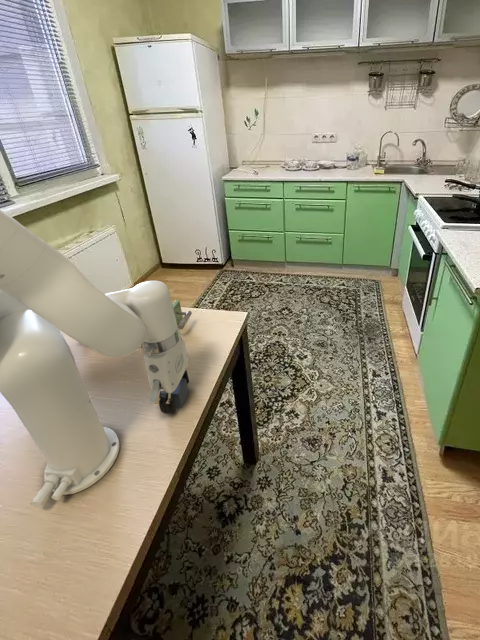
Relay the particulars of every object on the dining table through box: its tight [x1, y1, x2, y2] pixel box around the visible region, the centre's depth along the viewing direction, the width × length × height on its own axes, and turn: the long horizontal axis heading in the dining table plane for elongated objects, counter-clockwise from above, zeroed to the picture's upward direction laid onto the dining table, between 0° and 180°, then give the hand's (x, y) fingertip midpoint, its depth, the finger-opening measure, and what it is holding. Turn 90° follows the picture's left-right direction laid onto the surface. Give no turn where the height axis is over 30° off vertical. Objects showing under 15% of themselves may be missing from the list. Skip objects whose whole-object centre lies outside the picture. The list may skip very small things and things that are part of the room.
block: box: [161, 378, 190, 409], centre depth 74 cm, size 4×4×4 cm
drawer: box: [172, 299, 193, 331], centre depth 95 cm, size 19×11×7 cm, turn 85°
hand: (176, 396), depth 75 cm, fingers open, 7 cm apart
